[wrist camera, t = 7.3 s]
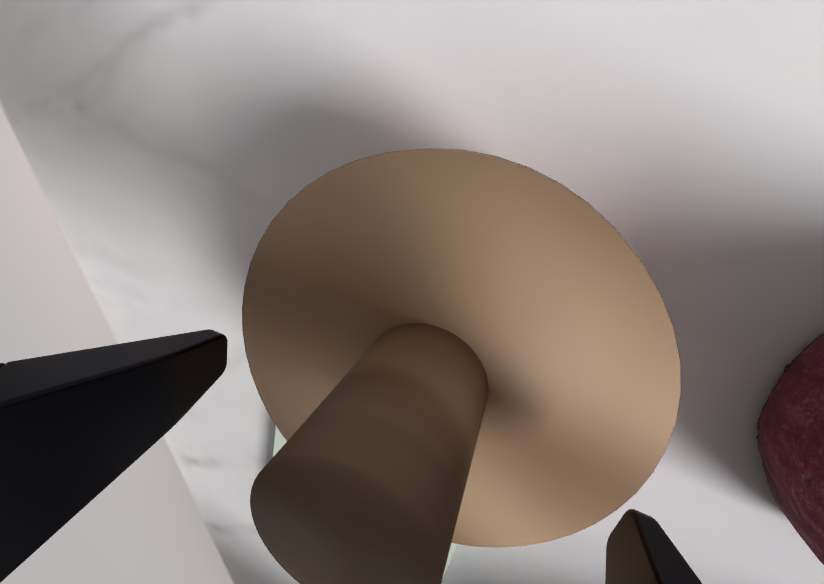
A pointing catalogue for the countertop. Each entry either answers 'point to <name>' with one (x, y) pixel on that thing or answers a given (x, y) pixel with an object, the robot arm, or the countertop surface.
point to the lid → (448, 366)
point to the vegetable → (797, 444)
